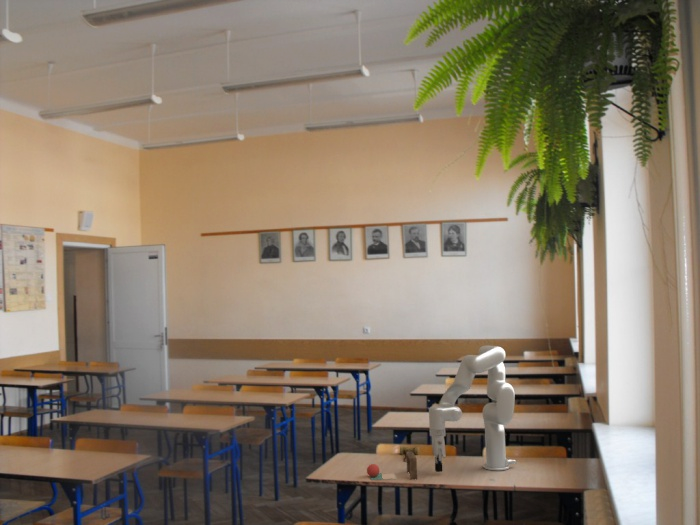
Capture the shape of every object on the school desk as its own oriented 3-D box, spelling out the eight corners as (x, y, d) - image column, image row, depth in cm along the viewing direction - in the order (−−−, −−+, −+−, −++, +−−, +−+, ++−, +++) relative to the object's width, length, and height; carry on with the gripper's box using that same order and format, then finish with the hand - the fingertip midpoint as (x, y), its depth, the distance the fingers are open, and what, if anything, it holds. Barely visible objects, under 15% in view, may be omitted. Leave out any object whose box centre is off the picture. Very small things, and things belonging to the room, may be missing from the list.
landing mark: (394, 473, 318) (394, 472, 318) (396, 479, 306) (396, 478, 307) (369, 473, 318) (369, 473, 318) (371, 480, 306) (371, 479, 306)
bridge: (413, 471, 320) (412, 451, 321) (417, 479, 305) (416, 458, 306) (407, 471, 320) (406, 451, 321) (410, 479, 305) (410, 458, 306)
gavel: (415, 456, 340) (396, 456, 342) (415, 465, 340) (396, 465, 342) (418, 445, 360) (400, 445, 362) (418, 454, 360) (400, 453, 362)
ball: (368, 477, 315) (380, 472, 315) (369, 480, 309) (381, 476, 309) (364, 465, 315) (376, 461, 316) (365, 468, 309) (377, 463, 310)
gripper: (448, 435, 307) (449, 475, 306) (442, 429, 322) (443, 467, 321) (432, 435, 307) (433, 475, 306) (427, 429, 322) (428, 468, 321)
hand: (438, 471), depth 313 cm, fingers closed
